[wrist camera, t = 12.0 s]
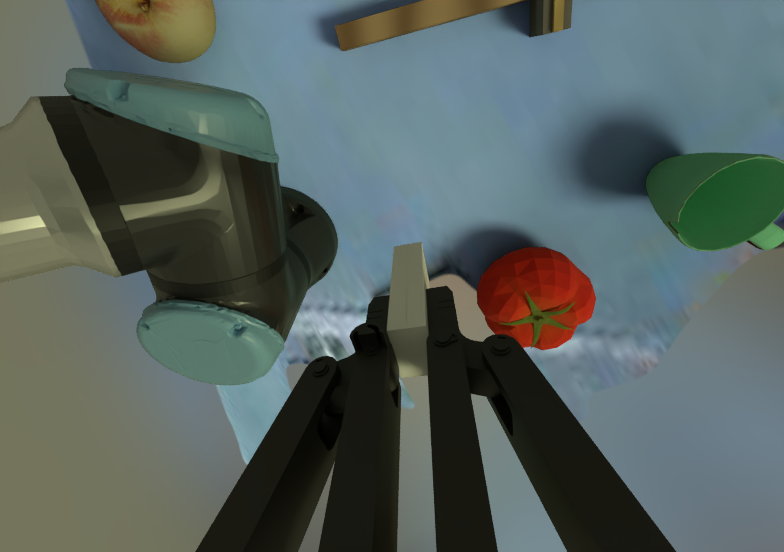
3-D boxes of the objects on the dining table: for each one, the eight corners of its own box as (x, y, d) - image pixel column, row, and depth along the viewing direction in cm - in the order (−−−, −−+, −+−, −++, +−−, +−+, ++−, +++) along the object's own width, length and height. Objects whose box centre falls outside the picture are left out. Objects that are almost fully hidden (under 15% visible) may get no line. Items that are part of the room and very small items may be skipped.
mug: (605, 191, 42) (654, 225, 33) (676, 117, 37) (753, 135, 28) (683, 242, 45) (745, 284, 37) (758, 180, 40) (848, 212, 32)
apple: (126, 7, 34) (56, -5, 27) (167, -76, 30) (98, -114, 23) (202, 81, 37) (156, 86, 30) (246, 14, 33) (206, 3, 27)
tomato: (526, 214, 44) (553, 250, 36) (596, 280, 49) (633, 325, 41) (450, 280, 50) (458, 324, 42) (519, 332, 56) (537, 380, 47)
